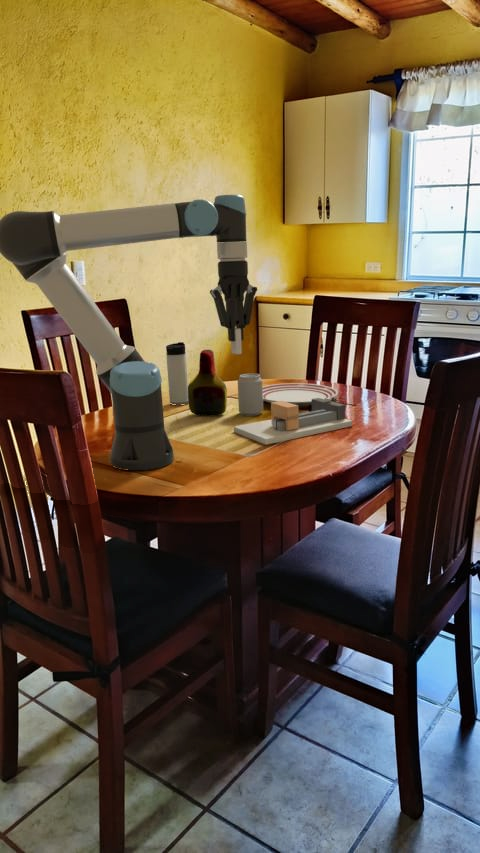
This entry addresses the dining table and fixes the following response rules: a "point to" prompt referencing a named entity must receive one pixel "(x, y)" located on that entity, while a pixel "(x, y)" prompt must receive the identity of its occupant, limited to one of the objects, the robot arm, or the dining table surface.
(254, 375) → the can
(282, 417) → the tan wooden block
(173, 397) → the travel mug
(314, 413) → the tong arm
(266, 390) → the dinner plate
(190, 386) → the bottle
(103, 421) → the dining table surface
